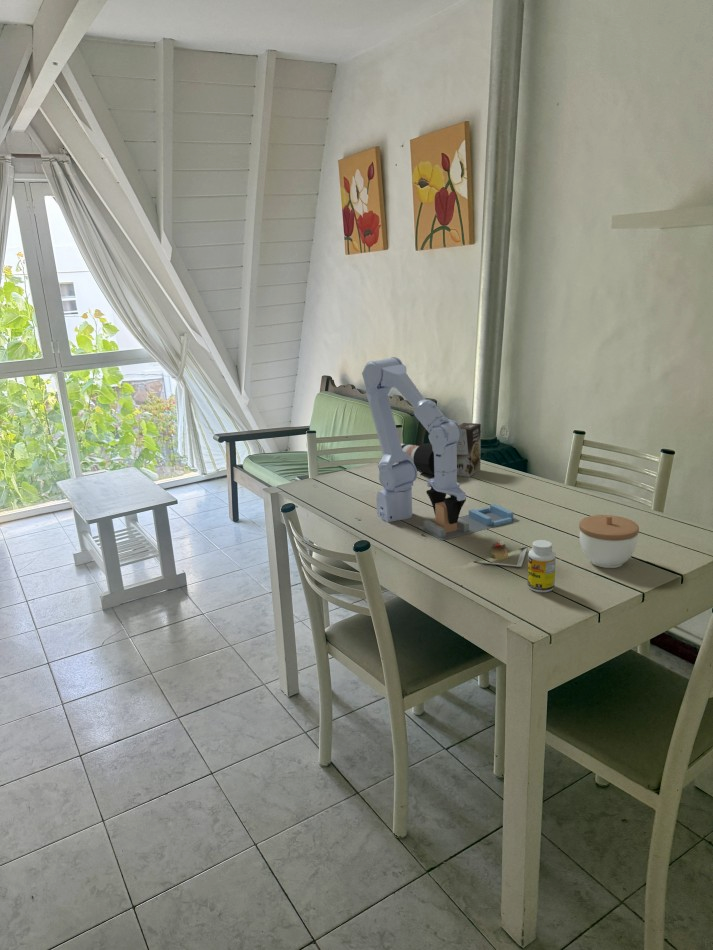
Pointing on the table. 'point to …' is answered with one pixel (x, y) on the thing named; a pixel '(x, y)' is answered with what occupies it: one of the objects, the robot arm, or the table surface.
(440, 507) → the tan cardboard block
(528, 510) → the table surface
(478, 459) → the coffee box
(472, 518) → the grey fixture plate
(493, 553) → the dessert
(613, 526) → the lidded bowl
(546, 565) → the supplement bottle
